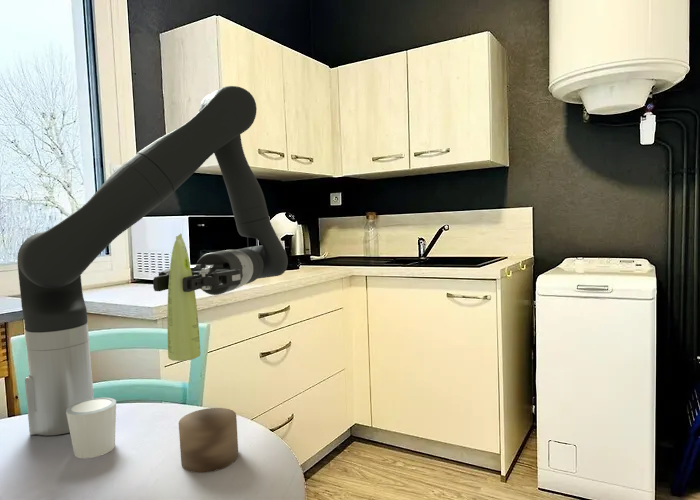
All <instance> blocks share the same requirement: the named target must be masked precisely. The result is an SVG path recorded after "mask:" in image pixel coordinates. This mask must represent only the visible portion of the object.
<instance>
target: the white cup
mask: <svg viewBox="0 0 700 500" xmlns="http://www.w3.org/2000/svg"><path fill="white" fill-rule="evenodd" d="M66 414H67V419H68V425H69V430H70V432H69V435H70V438H71V439H70V440H71V445H72V451H73V455H74V456H75V457H76V458H78V459H92V458H97V457H100V456H103V455H106V454H108V453H110V452H111V451H113V450H114V449H115V447H116V429H117V428H116V425H117V424H116V422H117V421H116V419H117V418H116V417H117V400H116V399H114V398H112V397H96V398H95V397H94V399H88V400H84V401H81V402H78V403H75V404H73V405H71V406H70V407H68V408H67V410H66Z"/></svg>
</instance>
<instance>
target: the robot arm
mask: <svg viewBox="0 0 700 500" xmlns="http://www.w3.org/2000/svg"><path fill="white" fill-rule="evenodd" d="M256 116H257V102H256V100H255V97H254V96H253V95H252V94H251V93H250V92H249V91H248V90H247V89H245V88H243V87H241V86H236V85H234V86H233V85H228V86H223V87H220V88H218V89H216V90H214V91H212V92H210V93H208V94H207V95H205V96H204V98H203V99H202V100H201V102H200V103H199V109H198V112H197V113H196V114H195V115H194V116H193V117H192V118H191V119H190V120H187V122H185V123H184V124H181V126H179V127H178V128H176V129H174V130H172V131H170V132H168V133H166V134H164V135H163V136H162V137H159V138H157V139H156V140H154V141H153V142H152V143H150V144H148V145H147V146H144V148H142V149H141V150H139V151H137V153H135V154H134V155H133V156H132V157H131V158H129V159H128V160H127V161H125V162H124V163H123V164H122V165H121V166H119V167H118V168H117V169H116V170H115V171H114V172H113V173H112V174H111V175H110V176H109V177H108V178H107V179H106V180H105V181H104V182H103V183H102V185H101V186H100V187H99V188H98V189H97V191H96V192H95V193H94V194H93V196H92V197H91V198H89V200H88V201H86V203H85V204H84V205H82V206H81V207H80V208H79V209H77V210H76V211H75V212H73V213H72V214H70V215H69V216H68V217H66V218H65V219H63V220H61V221H60V222H59V223H57V224H56V225H54V226H53V227H51V228H49V229H48V230H46V231H41V232H37V233H34V234H32V235H31V236H30V235H29V237H28V238H27V239H26V240H25V241H23V243H22V244H21V245H20V247H19V250H18V253H17V272H18V281H19V283H18V284H19V290H20V303H21V309H22V310H21V311H22V317H23V323H24V330H25V331H24V334H25V335H24V336H25V342H26V343H25V345H26V355H27V367H28V375H27V376H26V377H25V378H24V385H25V387H24V388H25V397H26V407H27V408H26V409H27V420H28V429H29V436H30V435H32V436H33V435H40V436H57V435H65V434H68V433H69V434H70V430H69V425H68V419H67V414H66V410H67V408H68V407H70V406H71V405H73V404H75V403H78V402H81V401H84V400H88V399H94V398H95V397H94V385H93V373H92V361H91V360H92V359H91V349H90V348H91V347H90V336H89V335H90V334H89V325H88V324H89V323H88V311H87V310H88V309H87V305H86V303H85V299H84V294H83V293H84V292H83V287H82V286H83V285H82V274H83V273H84V272H85V271H86V269H88V268H89V266H90V265H91V264H92V263H93V262H94V261H95V260H96V259H97V258H98V257H99V255H100V254H101V253H103V251H104V250H106V249H107V247H109V245H110V244H111V243H112V242H113V241H114V240H115V239H117V238H118V237H119V236H120V235H122V234H123V233H124V232H126V231H127V230H128V229H129V228H132V226H133V225H136V223H138V222H139V221H140V220H141V219H143V218H144V217H145V216H147V215H148V214H149V213H150V212H152V211H154V209H156V208H157V207H159V205H161V204H162V203H163V202H164V201H165V200H166V199H168V198H169V197H170V196H171V195H172V194H173V193H175V191H176V190H178V189H179V188H180V187H181V186H182V184H184V183H185V182H186V181H187V180H188V179H189V178H190V177H191V176H192V175H193V174H195V173H196V171H197V170H198V169H199V168H200V167H201V166H203V164H204V163H205V162H206V161H207V160H208V159H209V158H210V157H211V156H212V155H214V156H215V159H216V161H217V163H218V167H219V169H220V171H221V176H222V177H223V178H222V179H223V181H224V184H225V188H226V190H227V194H228V197H229V202H230V205H231V209H232V213H233V218H234V221H235V226H236V229H237V232H238V234H239V235H240V236H241V237H243V238H244V237H245V238H252V239H256V240H258V242H259V243H260V244H261V245H255V246H249V247H243V248H238V249H226V250H225V249H224V250H218V251H213V252H209V253H205V254H203V255H202V256H201V257H200V258H199V259H198V260H197V261H196V263H195V264H190V267H191V272H192V276H188V277H184V278H183V291H184V292H191V291H194V290H195V291H197V290H201V291H202V292H204V293H206V294H208V295H212V296H220V295H222V294H225V293H228V292H232V291H235V290H238V289H239V288H242V287H243V286H245V285H247V284H251V283H253V282H255V281H256V280H258V279H264V278H265V279H266V278H273V277H279V276H282V275H283V274H284V273H285V272H286V270H287V269H288V265H289V264H288V262H289V261H288V255H287V252H286V250H285V248H284V245H283V244H282V242H281V241H280V239H279V237H278V234H277V233H276V230H275V229H274V227H273V225H272V222H271V219H270V216H269V211H268V208H267V207H268V206H267V202H266V199H265V195H264V192H263V190H262V188H261V185H260V183H259V182H258V179H257V177H256V176H255V174H254V172H253V170H252V168H251V167H250V165H249V163H248V160H247V158H246V154H245V152H244V147H243V142H242V138H241V135H242V134H243V133H245V132H246V131H247V130H249V129H250V128H251V127H252V125H253V124H254V122H255V119H256ZM169 274H170V268H167V269H165V270H162V271H160V272H158V276H155V277H153V279H152V287H153V291H154V292H163V291H166V290H167V291H168V285H169Z"/></svg>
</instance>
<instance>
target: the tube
mask: <svg viewBox="0 0 700 500" xmlns="http://www.w3.org/2000/svg"><path fill="white" fill-rule="evenodd" d="M185 243H186V242H185V241H184V238H183V236H182V233H180V234H178V235H176V237H175V241H174V244H173V248H172V252H171V257H170V265H169V269H170V274H169V285H168V289H167V319H166V320H167V357H168V358H167V359H169V360H171V361H174V362H175V361H176V362H183V361H185V362H186V361H191V360H195V359H196V358H198V357H200V356H201V340H200V338H201V337H200V326H199V317H198V315H199V314H198V307H197V298H196V297H197V296H196V290H194V291H191V292H184V291H183V278H184V277H188V276H192V272H191V267H190V266H191V264H190V258H189V253H188V249H187V246H186V244H185Z"/></svg>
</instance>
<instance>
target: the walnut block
mask: <svg viewBox="0 0 700 500" xmlns="http://www.w3.org/2000/svg"><path fill="white" fill-rule="evenodd" d="M178 436H179V437H178V438H179V449H180V451H179V452H180V464H181V467H182V468H183V469H184V470H185V471H186V472H187V471H188V472H191V473H197V474H198V473H199V474H200V473H201V474H204V473H212V472H216V471H219V470H222V469H226V468H227V467H228V468H229V466H231V465H233V464H234V463H235V462H236V461H237V460H238V458H239V439H238V438H239V437H238V421H237V413H236V412H235V411H234V410H232V409H231V408H227V407H211V408H210V407H209V408H203V409H199V410H195V411H192V412H189V413H188V414H186V415H184V416H182V417H181V418H180V419H179V420H178Z"/></svg>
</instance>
